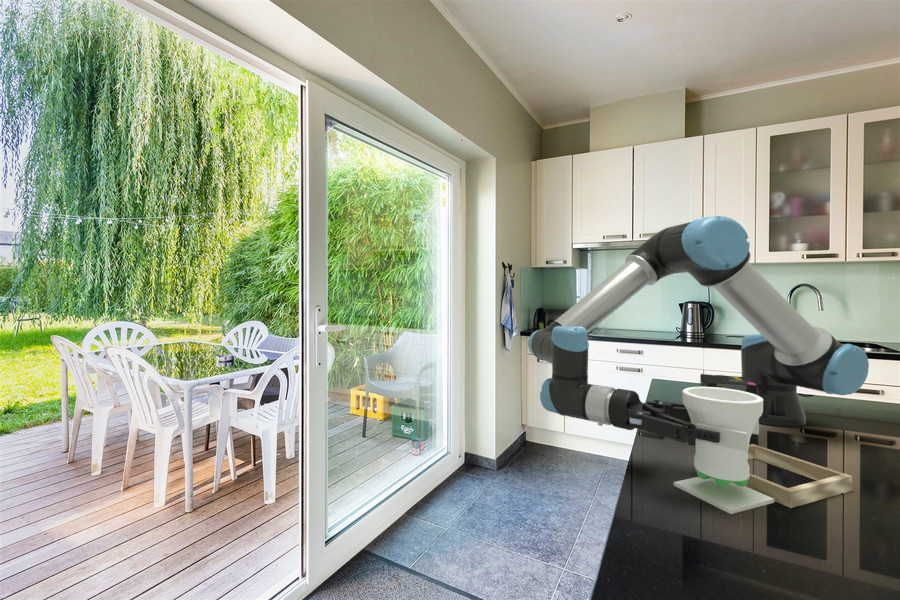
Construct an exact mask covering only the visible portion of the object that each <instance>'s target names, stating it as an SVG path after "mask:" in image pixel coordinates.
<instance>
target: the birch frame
mask: <svg viewBox="0 0 900 600" xmlns="http://www.w3.org/2000/svg"><path fill="white" fill-rule="evenodd" d="M748 460H758V461H760V462H764V463H767V464H769V465H771V466H774V467H778V468H780V469H783V470H787V471H789V472H792V473H794V474H797V475H800V476H802V475H803V477H805V478H809V479H812V480H814V481H811V482H807V483H803V484H798V485H796V486H791V487H786V486H783V485H780V484H778V483H775V482H773V481H770V480H768V479H765V478H762V477H760V476H757V475H755V474H753V473H750V476H749V479H748V482H747V485H746V487H748V488H750V489H753V490H755V491H757V492H760V493H762V494H764V495H767V496H769V497H771V498H774V499H775V502H776V503H778V504H780V505H782V506H785V507H787V508H789V509H792V508H795V507H800V506H803V505H808V504H810V503H814V502H817V501H820V500H824V499H828V498H831V497H836V496H839V495H842V494H841V493H843V494H845V493H846V494H847V493H849V492H853V476H852V475H849V474H847V473H843V472H841V471H837V470H834V469H831V468H828V467H825V466H822V465H818V464H816V463H813V462H810V461H807V460H803V459H801V458H797V457H795V456H791V455H788V454H784V453H781V452H778V451H775V450H773V449H769V448H766V447H763V446H760V445H759V446H757V445H754V444H750V445H749V447H748Z"/></svg>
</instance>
